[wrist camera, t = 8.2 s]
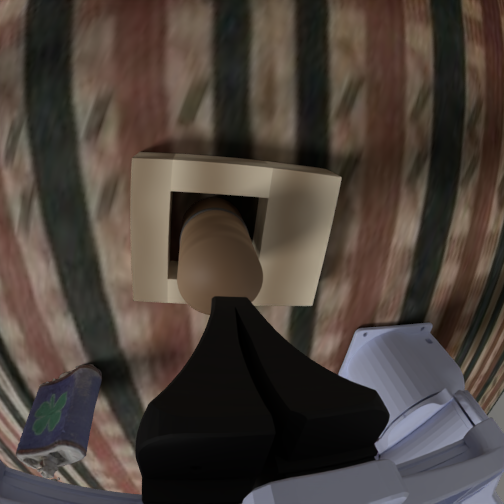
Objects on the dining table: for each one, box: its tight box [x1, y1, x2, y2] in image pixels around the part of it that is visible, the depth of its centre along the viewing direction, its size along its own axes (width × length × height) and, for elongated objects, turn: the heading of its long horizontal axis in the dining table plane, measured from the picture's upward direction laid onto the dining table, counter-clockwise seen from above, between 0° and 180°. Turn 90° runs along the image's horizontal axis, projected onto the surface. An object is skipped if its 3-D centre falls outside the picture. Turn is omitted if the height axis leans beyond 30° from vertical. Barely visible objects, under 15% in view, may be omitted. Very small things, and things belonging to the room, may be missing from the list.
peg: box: [177, 197, 263, 315], centre depth 18 cm, size 4×4×7 cm
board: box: [130, 152, 342, 306], centre depth 20 cm, size 12×9×2 cm
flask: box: [16, 364, 102, 481], centre depth 21 cm, size 9×3×11 cm, turn 117°
